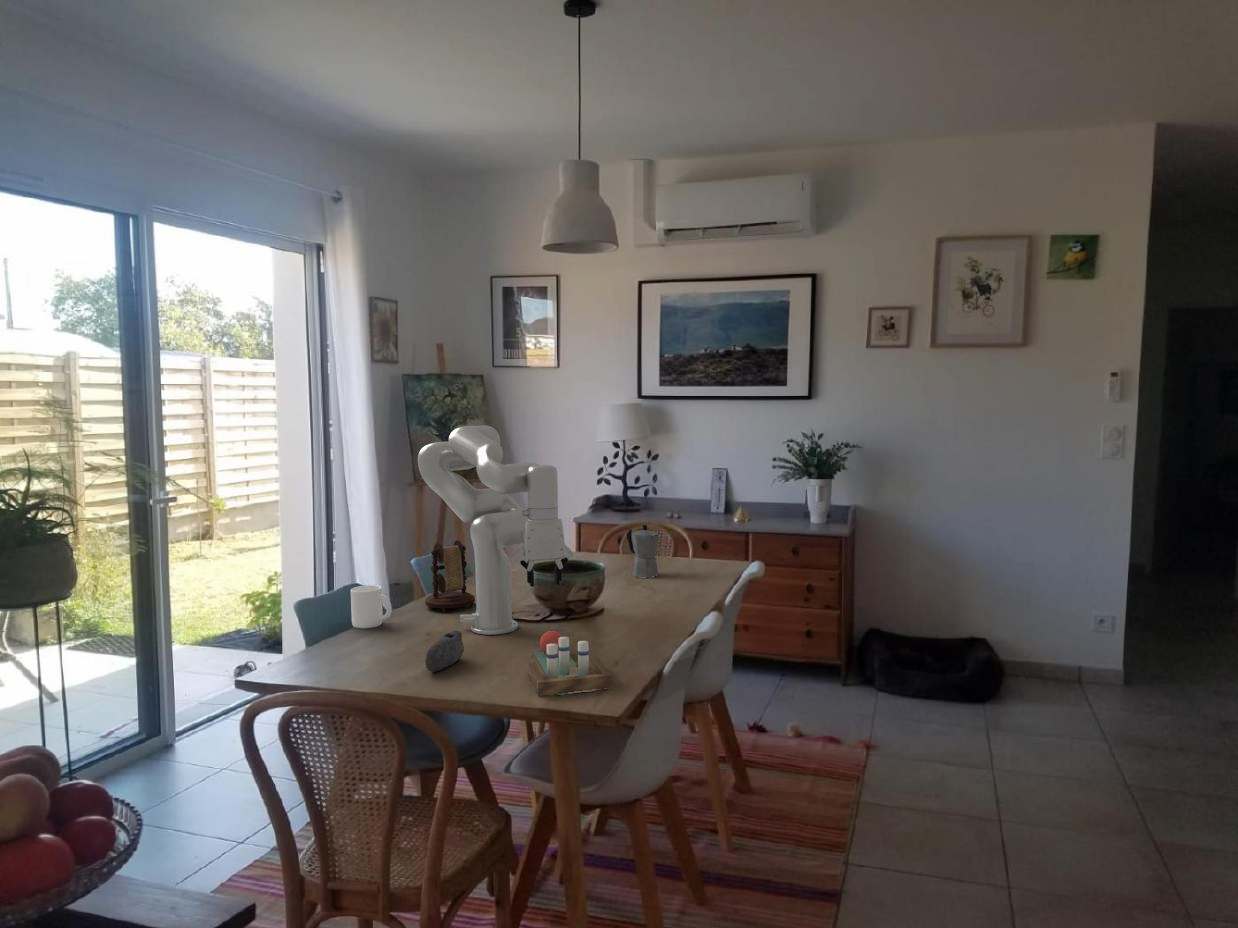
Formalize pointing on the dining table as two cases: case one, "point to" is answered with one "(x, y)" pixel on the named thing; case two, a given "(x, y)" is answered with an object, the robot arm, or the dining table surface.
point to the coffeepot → (643, 551)
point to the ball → (549, 640)
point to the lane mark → (543, 661)
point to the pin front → (564, 656)
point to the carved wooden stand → (449, 578)
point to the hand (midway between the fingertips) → (544, 583)
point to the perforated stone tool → (445, 651)
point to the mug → (368, 606)
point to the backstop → (571, 680)
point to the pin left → (552, 661)
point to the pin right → (583, 658)
